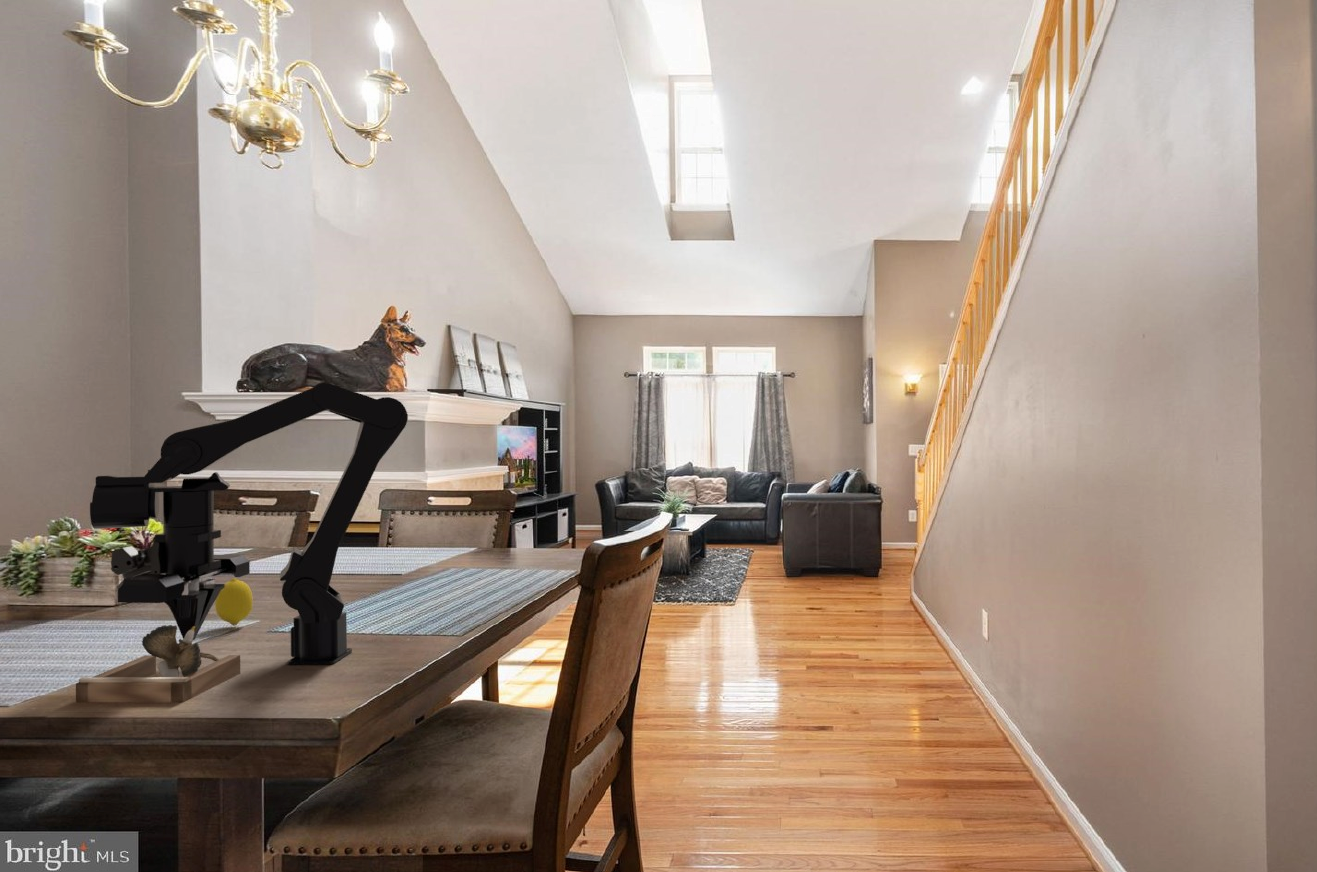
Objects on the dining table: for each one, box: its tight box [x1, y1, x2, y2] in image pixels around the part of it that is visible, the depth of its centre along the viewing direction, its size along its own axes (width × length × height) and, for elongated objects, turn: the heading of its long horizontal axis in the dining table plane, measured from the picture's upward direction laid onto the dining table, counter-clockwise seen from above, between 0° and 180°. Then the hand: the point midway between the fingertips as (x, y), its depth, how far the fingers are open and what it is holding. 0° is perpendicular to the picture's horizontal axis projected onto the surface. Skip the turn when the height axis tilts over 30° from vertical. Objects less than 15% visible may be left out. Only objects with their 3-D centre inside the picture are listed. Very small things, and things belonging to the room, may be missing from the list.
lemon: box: [214, 577, 254, 626], centre depth 126 cm, size 6×6×8 cm
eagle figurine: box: [141, 624, 220, 677], centre depth 95 cm, size 8×7×9 cm
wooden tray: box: [75, 654, 241, 703], centre depth 94 cm, size 13×12×3 cm
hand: (189, 640), depth 100 cm, fingers closed, pressing on eagle figurine
